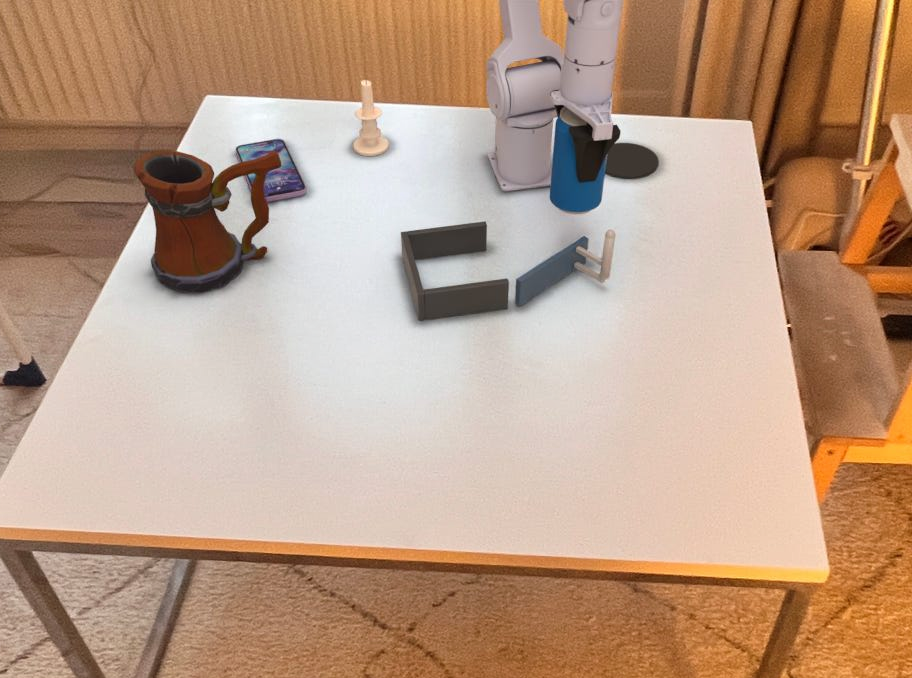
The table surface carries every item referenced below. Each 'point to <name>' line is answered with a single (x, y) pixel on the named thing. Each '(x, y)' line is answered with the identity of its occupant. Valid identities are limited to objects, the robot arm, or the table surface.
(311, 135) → the table surface
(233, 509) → the table surface
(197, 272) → the mug
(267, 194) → the smartphone
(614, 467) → the table surface
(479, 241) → the dark grey u-shaped piece
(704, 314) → the table surface
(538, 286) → the cooler door
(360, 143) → the candle
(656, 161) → the coaster
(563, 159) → the beverage can
